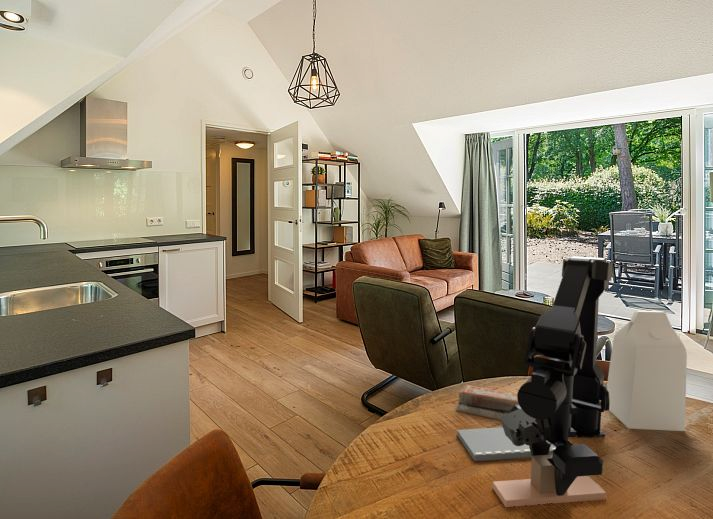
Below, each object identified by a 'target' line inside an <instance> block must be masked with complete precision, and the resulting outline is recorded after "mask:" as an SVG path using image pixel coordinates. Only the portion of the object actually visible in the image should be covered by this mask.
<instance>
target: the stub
mask: <svg viewBox="0 0 713 519" xmlns="http://www.w3.org/2000/svg"><path fill="white" fill-rule="evenodd" d="M552 456H553V455H539V456H532V457H531V460H530V462H531V465H530V466H531V467H530V478H528V479H527V478H526V479H525V478H524V479H513V480H512V479H511V480H510V479H509V480H496V481H492V489H493V491H494V492H495V494H496V495H497V496H498V498H499V500H500V501H501V502H502V504H503V506H504V507H505V508H512V507H513V508H514V506H515V507H525V505H527V506H538V504H540V505H549V503H553V504H562V503H563V502H565V503H575V502H576V503H577V502H587V501H590V502H591V501H601V500H602V501H603V500H607V491H605V489H604V488H602V487H601V486H600V485H599V484H598V483H597V482H595V481H594V480H593V479H592V478H591V476H578V477H577V478H576V479H575V480H574V481H573V483H572V484H571V485H570V487H569V488H568V490H567V491H566V492H565V494H564V495H561V496H558V495H557V494H556V489H555V474H554V467H553V465H552V464H551V463H550V462H549V461H548V460H547V459H548V458H552ZM547 503H548V504H547ZM563 504H564V503H563Z"/></svg>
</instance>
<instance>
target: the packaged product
mask: <svg viewBox="0 0 713 519" xmlns="http://www.w3.org/2000/svg"><path fill="white" fill-rule="evenodd" d="M458 398H459V400H458V402H457V404H456V406H455V410H456V411H458V412H462V413H463V412H464V413H467V414H472V415H477V416H480V417H486V418H491V419H495V420H500V418H501V417H502V416H503V415H506V414H508V413H510V410H511V409H512V408H513V407H514V406H515V405H519V403H518V399H517V394H515V393H511V392H506V391H501V390H495V389H490V388H485V387H481V386H475V385H470V384H469V385H468V384H465V385H464V386H463V388H461V390H460V391H459V393H458ZM500 421H501V420H500Z"/></svg>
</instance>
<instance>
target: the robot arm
mask: <svg viewBox="0 0 713 519" xmlns="http://www.w3.org/2000/svg"><path fill="white" fill-rule="evenodd" d="M612 277H613V264H612V263H611V262H607V259H606V258H605V257H594V256H575V255H574V256H572V257H569V258H565V259H563V260H562V268H561V280H560V283H559V286H558V288H557V291H556V295H555V298H554V299H553V300H554V301H553V303H552V306H551V309H550V310H548V311H546V312H544V313H543V314H541V315H540V316H539V318H538V321H537V323H536V325H535V326H533V327H532V329H531V331H530V335H529V338H528V344H527V347H526V351H525V356H524V358H523V364H522V365H523V366H526V367H530V368H532V373H531V376H530V377H529V378H528V379H527V380H526V381H525V382H523V384H522V385H521V386H520V387H519V389H518V392H517V399H518V403H519V405H515V406H514V407H513V408H512V409H511V410H510V413H508V414H506V415H503V416H502V417H501V418H500V423H501V427H503V429H504V432H505V435H506V436H507V437H508V438H509V439H510V440H511V441H512V443H513V444H514V445H515V446H522V445H524V444H526V445H529V447H530V451H531V455H532V456H539V455H548V453H549V450H550V447H551V444H553V445H554V446H555V447H556V449H555V450H554V451H553V456H552V458H548V459H547V460H548V461H549V462H550V463H551V464H552V465H553V467H554V474H555V489H556V494H557V495H558V496H561V495H564V494H565V492H566V491H567V490H568V488H569V487H570V485H571V484H572V483H573V481H574V480H575V479H576V478H577V477H578V476H589V477H592V476H601V475H603V473H604V472H603V471H604V460H603V459H602V458H601V457H600V455H598V454H597V453H595V452H594V451H593V450H592V449H591V448H590V447H589V446H587V445H586V444H584V443H579V444H573V443H572V442H570V440H569V438H576V437H577V438H591V437H592V438H593V437H605V436H606V433H605V432H604V431H603V430H602V429H601V426H602V425H601V423H602V422H601V421H602V413H605V411H609V407H610V397H609V392H608V390H607V384H605V383H604V381H605V380H604V379H605V378H604V377H605V376H604V374H605V373H604V372H603V371H602V368H601V367H600V366H599V364H598V363H597V351H598V350H597V346H598V345H597V344H598V327H599V324H598V321H599V301H600V299H599V298H600V297H601V295H603V293H604V292H605V290H606V289H607V288H608V286H609V282H611V280H612ZM535 353H536V355H537V356H536V355H535ZM544 357H545V358H544Z"/></svg>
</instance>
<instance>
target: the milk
mask: <svg viewBox="0 0 713 519" xmlns="http://www.w3.org/2000/svg"><path fill="white" fill-rule="evenodd" d="M687 356H688V354H687V349H686V347H685V344H684V343H683V341H682V339H681V338H680V336H679V335H678V334H677V331H676V330H675V329H674V327H673V326H672V324H671V323H670V321H669V318H668V316H667V314H666V311H662V310H635V311H634V313H633V314H632V317H631V318H630V320H629V322H628V323H627V324H625V325H624V326H622V327H621V328H620V329H619V330H618V331H617V332H616V333H615V334H614V336H613V341H612V348H611V353H610V362H609V366H608V367H609V368H608V375H607V383H606V386H607V390H608V392H609V397H610V407H609V410H608V411H609V412H610V413H611V414H612V415H614V417H615V418H617V419H618V420H619V421H620V422H621V423H622V424H623V425H624V426H625V427H627V429H629V430H630V429H636V430H653V431H656V430H658V431H672V432H673V431H675V432H676V431H677V432H685V431H686V402H687V400H686V398H687V397H686V396H687V394H686V393H687V392H686V391H687V360H688V359H687V358H688V357H687Z"/></svg>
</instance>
